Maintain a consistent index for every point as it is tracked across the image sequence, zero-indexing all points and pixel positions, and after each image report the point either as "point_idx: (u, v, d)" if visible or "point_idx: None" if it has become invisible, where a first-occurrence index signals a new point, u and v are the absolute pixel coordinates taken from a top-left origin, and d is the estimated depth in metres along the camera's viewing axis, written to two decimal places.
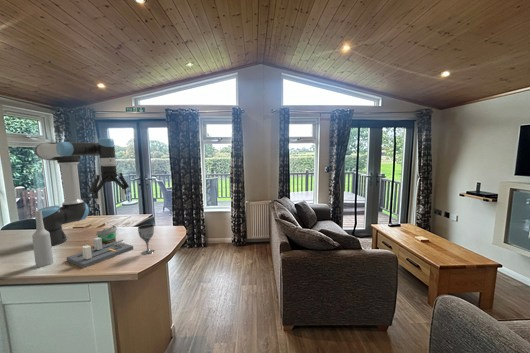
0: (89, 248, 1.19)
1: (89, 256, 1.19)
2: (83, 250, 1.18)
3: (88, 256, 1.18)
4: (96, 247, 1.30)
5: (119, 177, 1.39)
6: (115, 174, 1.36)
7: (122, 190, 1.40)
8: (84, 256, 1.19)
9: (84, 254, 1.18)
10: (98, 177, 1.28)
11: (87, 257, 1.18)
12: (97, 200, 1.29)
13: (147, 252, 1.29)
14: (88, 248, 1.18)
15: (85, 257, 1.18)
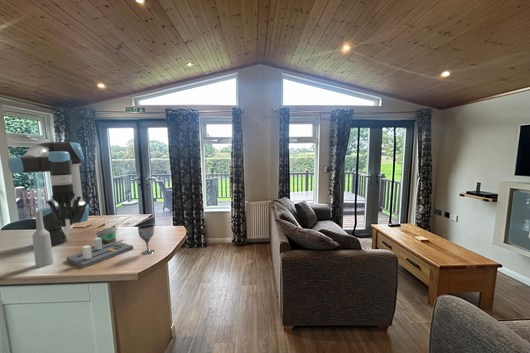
0: (89, 248, 1.19)
1: (89, 256, 1.19)
2: (83, 250, 1.18)
3: (88, 256, 1.18)
4: (96, 247, 1.30)
5: (74, 201, 1.14)
6: (72, 194, 1.12)
7: None
8: (84, 256, 1.19)
9: (84, 254, 1.18)
10: (51, 203, 1.05)
11: (87, 257, 1.18)
12: (65, 228, 1.11)
13: (147, 252, 1.29)
14: (88, 248, 1.18)
15: (85, 257, 1.18)
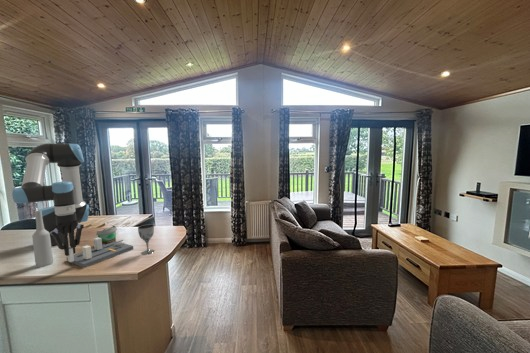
0: (89, 248, 1.19)
1: (89, 256, 1.19)
2: (83, 250, 1.18)
3: (88, 256, 1.18)
4: (96, 247, 1.30)
5: (77, 229, 1.16)
6: (75, 223, 1.14)
7: None
8: (84, 256, 1.19)
9: (84, 254, 1.18)
10: (55, 234, 1.07)
11: (87, 257, 1.18)
12: (68, 257, 1.13)
13: (147, 252, 1.29)
14: (88, 248, 1.18)
15: (85, 257, 1.18)
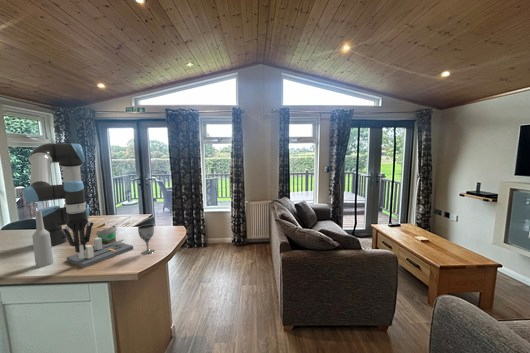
0: (91, 247, 1.19)
1: (91, 255, 1.20)
2: (85, 249, 1.19)
3: (90, 256, 1.19)
4: (96, 247, 1.30)
5: (87, 226, 1.20)
6: (86, 220, 1.18)
7: None
8: (86, 255, 1.19)
9: (86, 253, 1.19)
10: (66, 231, 1.11)
11: (89, 256, 1.19)
12: (79, 253, 1.17)
13: (147, 252, 1.29)
14: (90, 247, 1.19)
15: (87, 257, 1.19)
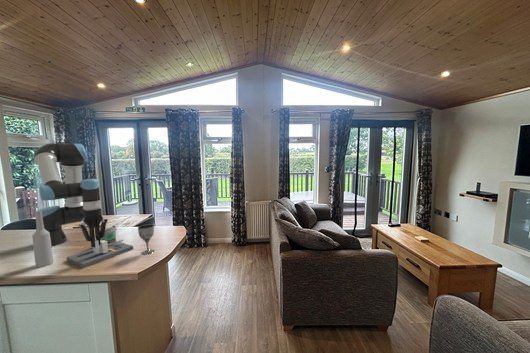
0: (105, 243, 1.26)
1: (105, 250, 1.26)
2: (100, 245, 1.25)
3: (104, 251, 1.25)
4: None
5: (102, 223, 1.26)
6: (101, 217, 1.24)
7: None
8: (101, 250, 1.25)
9: (101, 248, 1.25)
10: (83, 227, 1.17)
11: (104, 251, 1.25)
12: (94, 248, 1.23)
13: (147, 252, 1.29)
14: (105, 243, 1.25)
15: (102, 251, 1.25)
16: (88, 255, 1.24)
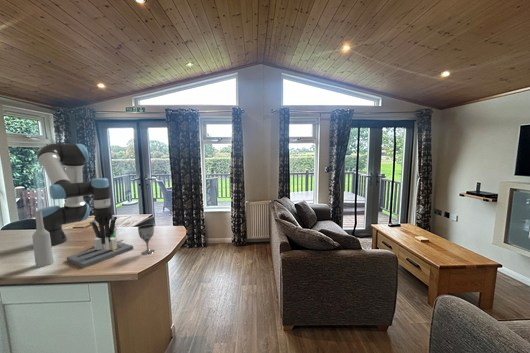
0: (115, 240, 1.30)
1: (115, 247, 1.30)
2: None
3: (114, 247, 1.29)
4: (96, 247, 1.30)
5: (111, 220, 1.30)
6: (110, 215, 1.28)
7: None
8: (110, 247, 1.30)
9: (110, 245, 1.29)
10: (94, 224, 1.21)
11: (113, 248, 1.29)
12: (104, 245, 1.27)
13: (147, 252, 1.29)
14: (114, 240, 1.30)
15: (111, 248, 1.29)
16: (88, 255, 1.24)
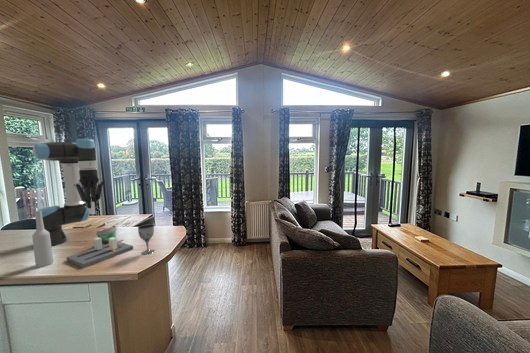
0: (115, 240, 1.30)
1: (115, 247, 1.30)
2: (110, 241, 1.30)
3: (114, 247, 1.29)
4: (96, 247, 1.30)
5: (98, 185, 1.24)
6: (97, 178, 1.22)
7: None
8: (110, 247, 1.30)
9: (110, 245, 1.30)
10: (79, 186, 1.15)
11: (113, 248, 1.29)
12: (90, 210, 1.21)
13: (147, 252, 1.29)
14: (114, 240, 1.30)
15: (111, 248, 1.29)
16: (88, 255, 1.24)
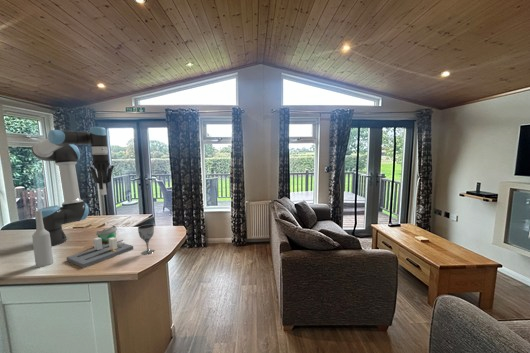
0: (115, 240, 1.30)
1: (115, 247, 1.30)
2: (110, 241, 1.30)
3: (114, 247, 1.29)
4: (96, 247, 1.30)
5: (108, 169, 1.39)
6: (108, 163, 1.37)
7: None
8: (110, 247, 1.30)
9: (110, 245, 1.30)
10: (92, 169, 1.29)
11: (113, 248, 1.29)
12: (102, 191, 1.35)
13: (147, 252, 1.29)
14: (114, 240, 1.30)
15: (111, 248, 1.29)
16: (88, 255, 1.24)
